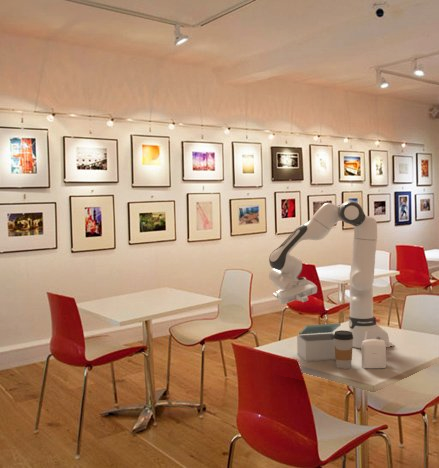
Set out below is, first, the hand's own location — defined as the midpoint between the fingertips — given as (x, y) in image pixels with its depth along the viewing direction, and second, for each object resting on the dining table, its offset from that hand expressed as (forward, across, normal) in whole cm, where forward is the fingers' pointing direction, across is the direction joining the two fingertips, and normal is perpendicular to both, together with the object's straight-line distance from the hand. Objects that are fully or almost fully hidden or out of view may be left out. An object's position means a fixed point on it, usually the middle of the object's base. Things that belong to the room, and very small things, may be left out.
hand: (305, 300), depth 251 cm
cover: (+11, 0, +11) cm, 15 cm away
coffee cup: (+31, -1, +17) cm, 35 cm away
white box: (+15, -2, +22) cm, 27 cm away
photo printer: (+38, +10, +18) cm, 43 cm away
